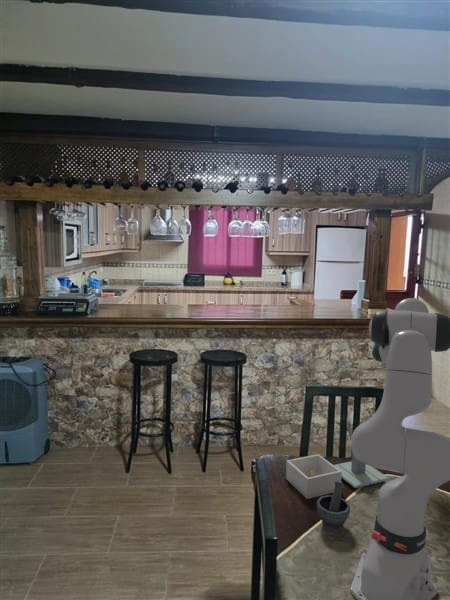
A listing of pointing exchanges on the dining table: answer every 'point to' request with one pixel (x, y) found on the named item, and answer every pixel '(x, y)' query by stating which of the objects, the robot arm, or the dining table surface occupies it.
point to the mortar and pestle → (333, 509)
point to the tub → (312, 475)
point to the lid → (360, 473)
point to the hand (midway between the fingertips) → (392, 416)
